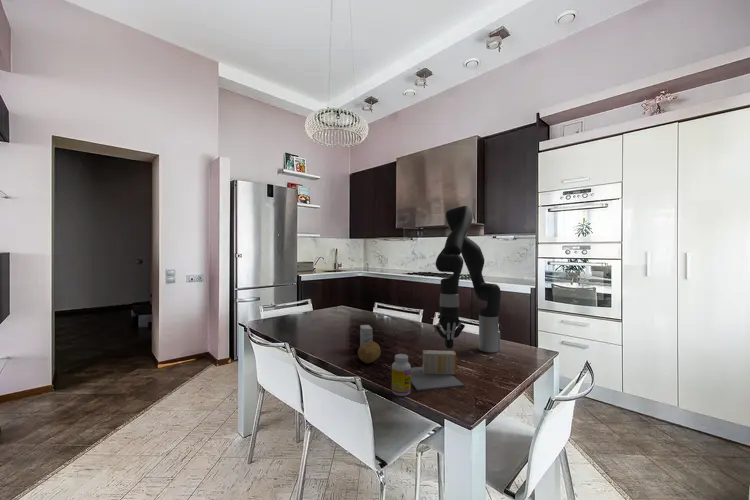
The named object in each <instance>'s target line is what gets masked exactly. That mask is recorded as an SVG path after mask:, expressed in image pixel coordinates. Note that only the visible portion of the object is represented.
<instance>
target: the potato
mask: <svg viewBox="0 0 750 500" xmlns="http://www.w3.org/2000/svg"><path fill="white" fill-rule="evenodd" d="M381 352H382V351H381V346H380V345H379V344H378V342H376V341H370V342H368V343H366V344H363V345H362V346H361V347H360V346H359V348H358V350H357V355H358V358H359V360H361V362H362V363H365V364H371V363H374V362H375V361H376V360H378V359H379V358H380V356H381Z"/></svg>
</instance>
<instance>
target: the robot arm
mask: <svg viewBox="0 0 750 500" xmlns="http://www.w3.org/2000/svg"><path fill="white" fill-rule="evenodd" d="M445 218H446V223H447V224H448V226H449V230H450V231H451V232H450V233H449V234H448V235H447V238H446V241H445V243H444V247H443V248H442V249H441V252H439V253H438V255H437V257H436V260H435V267H436V269H437V270H438V271H439V272H442V273H452V276H449V277H445V278H442V279H441V280H440V286H439V287H440V289H439V290H440V294H439V320H438V323H436V324H434V325H433V328H434V329H435V331H436V332H437V333H438V335H439V336H440V337H441V338H443V339H444V346H445V348H446V349H448V350H451V349H453V347H454V340H455V338H458V337H459V336H460V334H461V333H462V332H463V330H464V329H465V327H466V326H465V324H463V323H461V321H460V295H459V291H460V290H459V288H460V287H459V285H460V284H459V282H460V276H461V272H462V270H463V268H464V264H465V267H466V269H467V271H468V274H469V277H470V279H471V283H472V286H473V290H474V294H475V296H476V298H477V299H478V300H480V301H482V302H487V303H486V306H485V307H481V308H480V309H478V349H479V351H481V352H485V353H497V352H500V351H501V331H500V330H499V313H500V309H501V297H502V296H501V295H502V291H501V287H500V286H499V285H498V284H496V283H488V282H486V281H485V279H484V277H483V270H484V267H485V257H484V254H483V252H482V249H481V247H480V246H479V245H478V244H477V243H476V242H475V241H474V240H473V239H471V238H470V237H468V236H467V234H468V232H469V229H470V227H471V225H472V223H473V219H474V218H473V212H472V209H471V208H470V207H469V206H467V205H462V206H459V207H455V208H451V209H448V210H447V211H446V212H445ZM442 329H443V331H442Z"/></svg>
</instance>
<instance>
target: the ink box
mask: <svg viewBox="0 0 750 500" xmlns="http://www.w3.org/2000/svg"><path fill="white" fill-rule="evenodd" d="M359 335H360V336H359V338H360V339H359V342H360V343H359V344H360V346H359V348H360V347H361V346H362V345H363V344H366V343H368V342H370V341H373V340H374V339H373V327H372V326H371V325H369V324H361V325H359ZM373 342H374V341H373Z"/></svg>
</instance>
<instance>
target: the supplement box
mask: <svg viewBox="0 0 750 500" xmlns="http://www.w3.org/2000/svg"><path fill="white" fill-rule="evenodd" d="M422 367H423V373H424V374H452V375H457V353H456V351H455V350H431V349H430V350H429V349H428V350H425V349H424V350H423V349H422Z"/></svg>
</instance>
